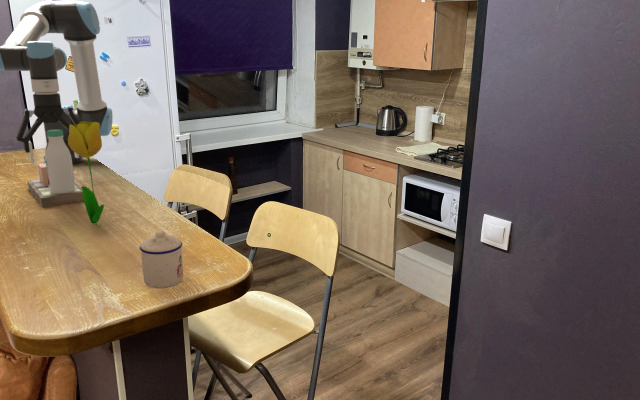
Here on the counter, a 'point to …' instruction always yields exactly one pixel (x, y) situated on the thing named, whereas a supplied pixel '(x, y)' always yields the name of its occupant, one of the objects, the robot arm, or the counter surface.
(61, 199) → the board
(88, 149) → the flower
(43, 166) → the terracotta block
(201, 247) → the counter surface
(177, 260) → the teacup with lid
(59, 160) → the milk bottle
